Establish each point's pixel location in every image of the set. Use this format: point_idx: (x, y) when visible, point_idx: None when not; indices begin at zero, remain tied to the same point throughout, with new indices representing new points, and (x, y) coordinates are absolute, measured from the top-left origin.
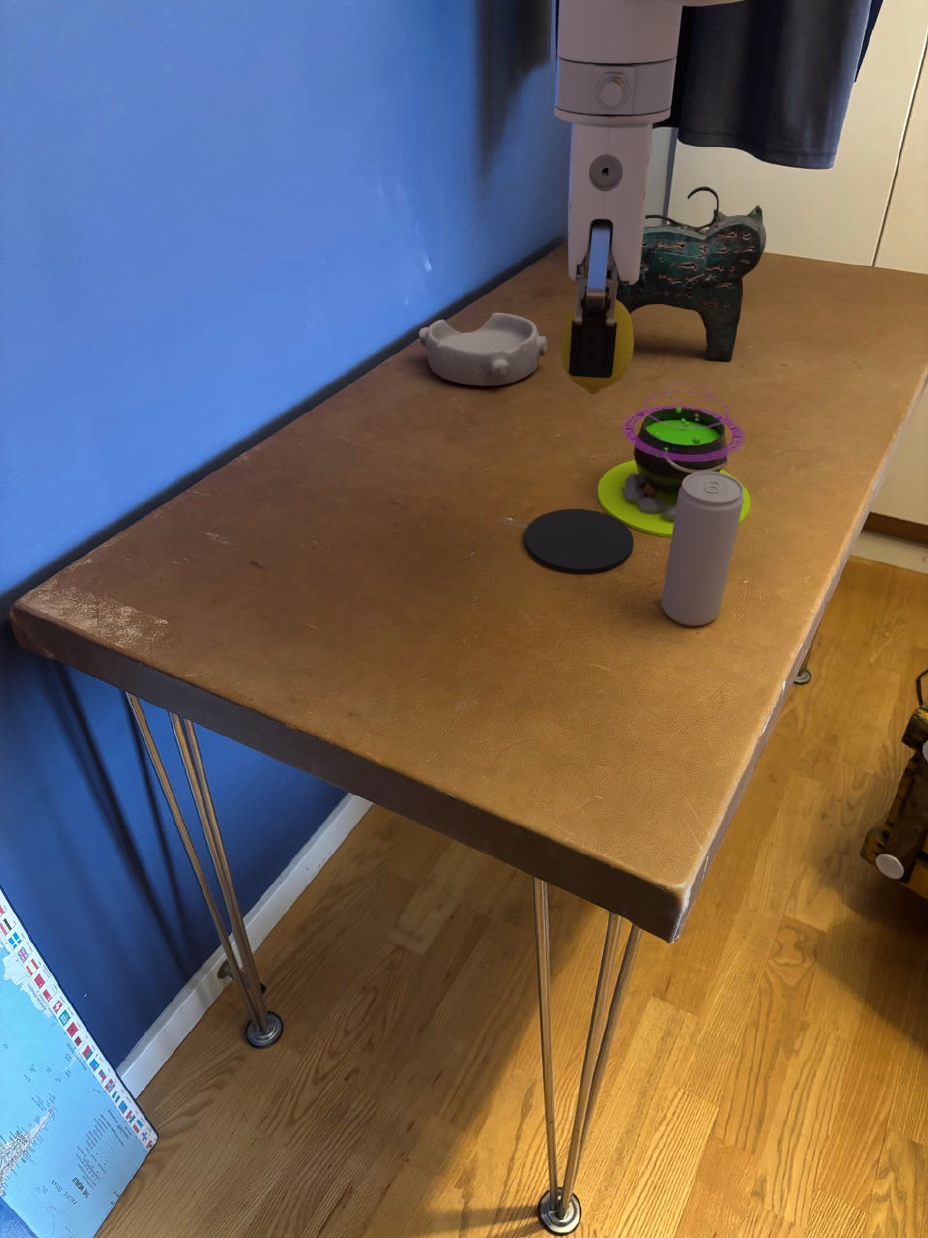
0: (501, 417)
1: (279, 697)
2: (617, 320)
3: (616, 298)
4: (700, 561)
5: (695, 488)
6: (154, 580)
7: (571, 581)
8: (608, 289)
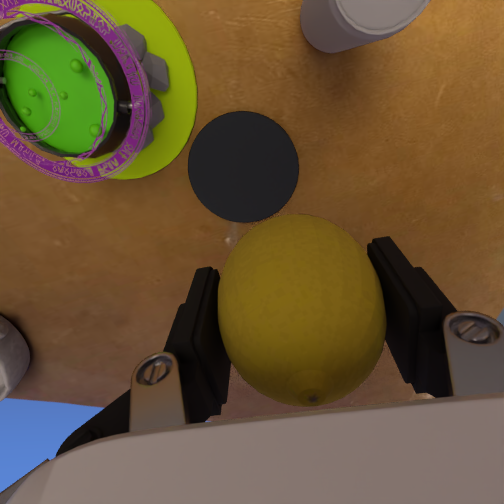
0: (58, 298)
1: (489, 307)
2: (362, 306)
3: (198, 337)
4: None
5: (398, 4)
6: None
7: (310, 158)
8: (197, 372)
